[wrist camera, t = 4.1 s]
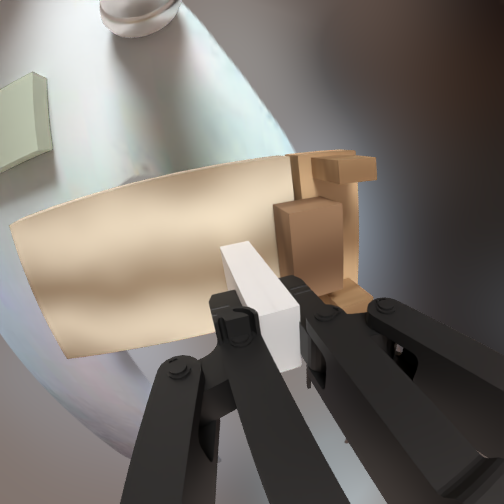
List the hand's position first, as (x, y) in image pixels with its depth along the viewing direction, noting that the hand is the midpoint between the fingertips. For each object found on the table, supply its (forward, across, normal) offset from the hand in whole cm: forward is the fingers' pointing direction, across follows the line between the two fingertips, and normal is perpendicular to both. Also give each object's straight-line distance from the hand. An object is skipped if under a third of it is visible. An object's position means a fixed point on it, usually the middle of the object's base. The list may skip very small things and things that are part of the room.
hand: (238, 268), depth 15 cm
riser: (+11, -20, +13) cm, 26 cm away
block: (+1, +4, 0) cm, 4 cm away
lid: (+4, -5, 0) cm, 6 cm away
